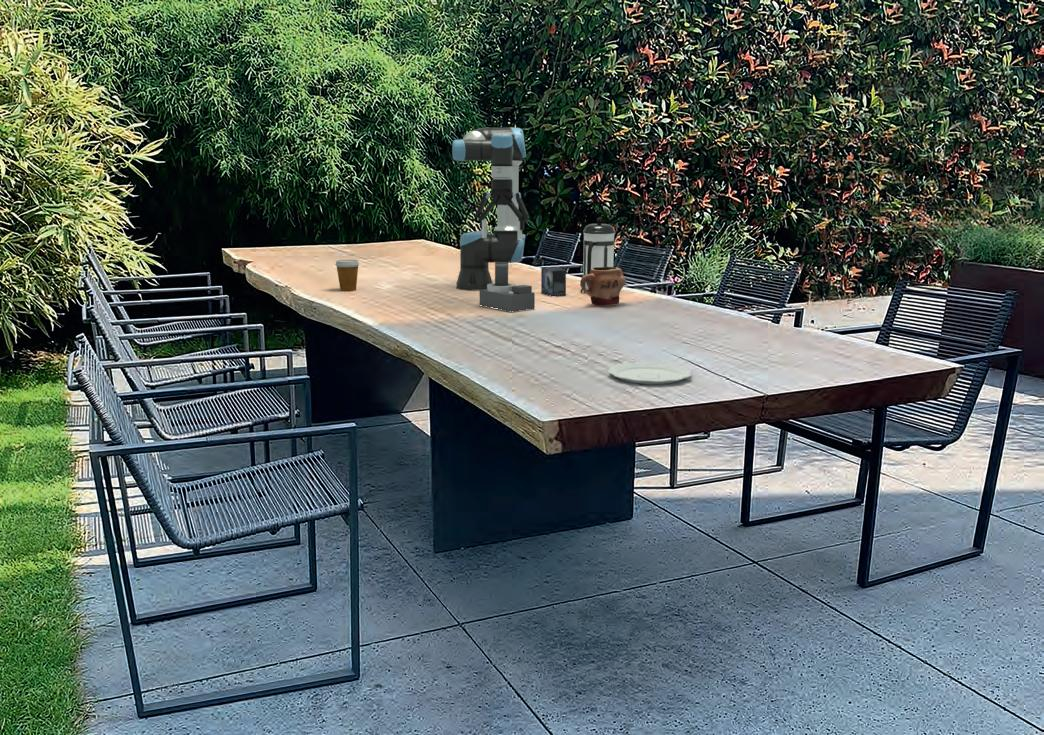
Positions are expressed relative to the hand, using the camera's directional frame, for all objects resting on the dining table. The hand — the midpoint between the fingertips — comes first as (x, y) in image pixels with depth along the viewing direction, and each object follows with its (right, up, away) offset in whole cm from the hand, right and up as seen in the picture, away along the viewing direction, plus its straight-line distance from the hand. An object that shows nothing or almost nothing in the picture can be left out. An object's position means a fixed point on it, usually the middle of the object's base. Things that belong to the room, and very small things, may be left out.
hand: (501, 238), depth 339 cm
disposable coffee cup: (-63, -15, +43) cm, 78 cm away
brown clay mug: (+37, -24, +9) cm, 45 cm away
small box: (+20, -18, +35) cm, 44 cm away
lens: (0, -18, +3) cm, 19 cm away
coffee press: (+38, -17, +40) cm, 57 cm away
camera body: (+2, -25, +3) cm, 25 cm away
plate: (+40, -49, -101) cm, 119 cm away
